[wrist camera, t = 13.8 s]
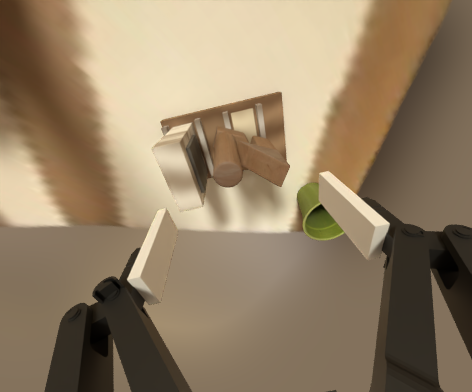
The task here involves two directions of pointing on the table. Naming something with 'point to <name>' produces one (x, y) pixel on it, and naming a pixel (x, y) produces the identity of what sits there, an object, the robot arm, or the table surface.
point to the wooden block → (246, 158)
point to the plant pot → (316, 215)
